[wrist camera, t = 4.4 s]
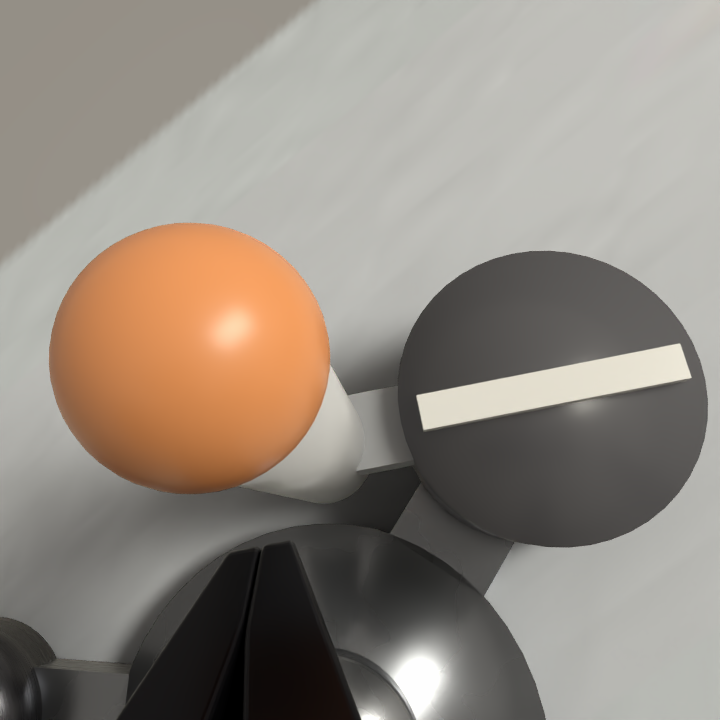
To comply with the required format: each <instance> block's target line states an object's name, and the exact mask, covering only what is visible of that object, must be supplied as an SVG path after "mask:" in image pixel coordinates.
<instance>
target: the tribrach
mask: <svg viewBox="0 0 720 720" xmlns="http://www.w3.org/2000/svg"><path fill="white" fill-rule="evenodd" d="M288 540H291V541H293V542H294V543H295V545H296V547H297V550H298V553H299V555H300V558H301V561H302V563H303V566H304V569H305V571H306V574H307V576H308V579H309V582H310V584H311V587H312V590H313V592H314V595H315V598H316V600H317V603H318V606H319V608H320V611H321V613H322V616H323V619H324V621H325V624H326V627H327V629H328V632H329V635H330V637H331V640H332V643H333V645H334V648H335V650H336V653H337V656H338V658H339V661H340V664H341V666H342V669H343V672H344V674H345V677H346V680H347V682H348V685H349V687H350V690H351V693H352V695H353V698H354V701H355V703H356V706H357V709H358V711H359V714H360V716H361V719H362V720H546V719H545V714H544V710H543V707H542V704H541V700H540V697H539V694H538V690H537V687H536V684H535V681H534V679H533V676H532V674H531V672H530V669H529V667H528V665H527V662H526V660H525V658H524V655H523V653H522V652H521V650H520V648H519V646H518V645H517V643H516V641H515V639H514V638H513V636H512V634H511V632H510V631H509V629H508V627H507V626H506V624H505V623H504V622H503V620H502V619H501V618H500V616H499V615H498V614H497V612H496V611H495V610H494V608H493V607H492V606H491V604H490V603H489V602H488V601H487V600H486V598H485V597H484V595H485V593H486V591H487V590H488V588H489V586H490V584H491V583H492V581H493V579H494V577H495V575H496V574H497V572H498V570H499V568H500V567H501V565H502V563H503V561H504V560H505V558H506V556H507V554H508V553H509V551H510V549H511V547H512V545H513V544H514V541H508V540H504V539H500V538H497V537H493V536H490V535H487V534H485V533H482V532H480V531H478V530H476V529H473V528H471V527H470V526H468V525H466V524H465V523H463V522H461V521H460V520H458V519H457V518H455V517H454V516H453V515H452V514H450V513H449V512H448V511H446V510H445V509H444V508H443V507H442V506H441V505H440V504H439V503H438V502H437V501H436V500H435V499H434V498H433V497H432V495H431V494H430V493H429V492H428V490H427V489H426V488H425V486H424V485H423V484H422V482H421V483H420V485H419V486H418V488H417V490H416V491H415V493H414V494H413V496H412V498H411V499H410V501H409V503H408V504H407V506H406V508H405V509H404V511H403V513H402V514H401V516H400V518H399V519H398V521H397V523H396V524H395V526H394V527H393V529H392V531H391V532H390V533H388V532H384V531H381V530H377V529H374V528H368V527H362V526H355V525H348V524H314V525H306V526H298V527H291V528H287V529H283V530H279V531H275V532H272V533H268V534H265V535H262V536H260V537H258V538H255V539H253V540H250V541H248V542H245V543H243V544H241V545H239V546H237V547H236V548H234V549H232V550H230V551H229V552H227V553H225V554H223V555H222V556H220V557H218V558H217V559H216V560H214V561H213V562H212V563H210V564H209V565H208V566H207V567H205V568H204V569H203V570H201V571H200V572H199V573H197V574H196V575H195V576H194V577H193V578H192V579H191V580H190V581H189V582H188V583H187V584H186V585H185V586H184V587H183V588H182V589H181V590H180V591H179V592H178V593H177V594H176V595H175V596H174V598H173V599H172V600H171V601H170V603H169V604H168V605H167V606H166V608H165V609H164V610H163V611H162V613H161V614H160V615H159V617H158V618H157V620H156V621H155V623H154V625H153V626H152V628H151V629H150V631H149V633H148V634H147V636H146V637H145V639H144V641H143V643H142V645H141V647H140V649H139V651H138V654H137V656H136V658H135V660H134V662H133V664H124V663H110V662H97V661H83V660H70V659H57V658H56V656H55V654H54V652H53V650H52V649H51V647H50V646H49V645H48V643H47V642H46V641H45V640H44V639H43V637H42V636H41V635H40V634H39V633H37V632H36V631H35V630H33V629H32V628H31V627H29V626H27V625H25V624H24V623H22V622H19V621H16V620H13V619H9V618H4V617H0V720H116V718H117V717H118V715H119V714H120V712H121V711H122V709H123V708H124V706H125V705H126V704H127V702H128V701H129V699H130V698H131V696H132V695H133V693H134V692H135V690H136V689H137V687H138V686H139V684H140V683H141V681H142V680H143V678H144V677H145V675H146V674H147V672H148V671H149V669H150V668H151V666H152V665H153V663H154V662H155V660H156V659H157V657H158V656H159V654H160V653H161V652H162V650H163V649H164V647H165V646H166V644H167V643H168V641H169V640H170V638H171V637H172V635H173V634H174V632H175V631H176V629H177V628H178V626H179V625H180V623H181V622H182V620H183V619H184V617H185V616H186V614H187V613H188V611H189V610H190V608H191V607H192V605H193V604H194V602H195V601H196V599H197V598H198V597H199V595H200V594H201V592H202V591H203V589H204V588H205V586H206V585H207V583H208V582H209V580H210V579H211V577H212V576H213V574H214V573H215V571H216V570H217V568H218V567H219V565H220V564H221V562H222V561H223V559H224V558H225V557H226V555H227V554H229V553H230V552H231V551H234V550H240V549H245V548H250V547H260V548H263V547H264V546H265V545H267V544H271V543H277V542H282V541H288Z"/></svg>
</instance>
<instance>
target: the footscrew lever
mask: <svg viewBox="0 0 720 720" xmlns="http://www.w3.org/2000/svg"><path fill="white" fill-rule="evenodd" d="M49 370H50V378H51V383H52V387H53V391H54V395H55V399H56V402H57V405H58V407H59V410H60V412H61V414H62V417H63V419H64V420H65V422H66V424H67V425H68V427H69V429H70V430H71V432H72V433H73V435H74V436H75V438H76V439H77V440H78V441H79V442H80V444H81V445H82V446H83V447H84V449H85V450H86V451H87V452H88V453H89V454H90V455H91V456H93V457H94V458H95V459H96V460H97V461H98V462H99V463H101V464H102V465H103V466H105V467H106V468H108V469H109V470H111V471H112V472H114V473H115V474H117V475H118V476H120V477H122V478H124V479H126V480H128V481H130V482H133V483H135V484H138V485H141V486H144V487H147V488H151V489H154V490H157V491H162V492H168V493H175V494H203V493H211V492H218V491H222V490H226V489H230V488H234V487H242V488H247V489H251V490H256V491H261V492H266V493H270V494H275V495H280V496H285V497H290V498H294V499H299V500H304V501H309V502H313V503H320V504H328V503H334V502H338V501H341V500H343V499H346V498H347V497H349V496H351V495H352V494H353V493H355V492H356V491H357V490H358V489H359V488H360V487H361V486H362V484H363V483H364V482H365V480H366V478H367V477H368V474H371V473H377V472H382V471H387V470H392V469H397V468H403V467H408V466H413V468H414V470H415V472H416V473H417V475H418V477H419V478H420V480H421V482H422V484H423V485H424V486H425V488H426V489H427V490H428V492H429V493H430V494H431V495H432V497H433V498H434V499H435V500H436V501H437V502H438V503H439V504H440V505H441V506H442V507H443V508H444V509H445V510H446V511H448V512H449V513H450V514H452V515H453V516H454V517H455V518H457V519H458V520H460V521H461V522H463V523H465V524H466V525H468V526H470V527H471V528H473V529H476V530H478V531H480V532H482V533H485V534H487V535H490V536H493V537H497V538H500V539H504V540H508V541H514V542H520V543H525V544H532V545H538V546H545V547H577V546H586V545H592V544H596V543H600V542H604V541H608V540H612V539H614V538H616V537H619V536H621V535H624V534H626V533H629V532H631V531H633V530H634V529H636V528H638V527H639V526H641V525H643V524H644V523H646V522H648V521H649V520H650V519H652V518H653V517H654V516H655V515H657V514H658V513H659V512H660V511H662V510H663V509H664V508H665V507H666V506H667V505H668V504H669V503H670V502H671V501H672V500H673V498H674V497H675V496H676V495H677V494H678V493H679V492H680V490H681V489H682V487H683V486H684V484H685V483H686V481H687V480H688V478H689V477H690V475H691V473H692V471H693V469H694V467H695V464H696V462H697V460H698V458H699V455H700V452H701V448H702V445H703V442H704V439H705V432H706V426H707V417H708V398H707V390H706V383H705V377H704V374H703V370H702V366H701V363H700V359H699V357H698V355H697V352H696V350H695V348H694V345H693V343H692V341H691V339H690V337H689V336H688V334H687V332H686V330H685V329H684V327H683V325H682V324H681V323H680V321H679V320H678V319H677V317H676V316H675V315H674V313H673V312H672V311H671V309H670V308H669V307H668V306H667V305H666V304H665V303H664V302H663V301H662V300H661V299H660V298H659V297H658V296H657V295H656V294H655V293H654V292H652V291H651V290H650V289H649V288H647V287H646V286H645V285H644V284H642V283H641V282H640V281H638V280H637V279H635V278H633V277H632V276H630V275H629V274H627V273H625V272H624V271H622V270H620V269H617V268H615V267H613V266H611V265H609V264H607V263H604V262H601V261H598V260H596V259H593V258H590V257H586V256H581V255H577V254H572V253H566V252H556V251H529V252H522V253H515V254H510V255H506V256H503V257H499V258H495V259H492V260H490V261H487V262H485V263H482V264H480V265H477V266H475V267H474V268H472V269H470V270H468V271H467V272H465V273H463V274H461V275H460V276H458V277H457V278H456V279H454V280H453V281H452V282H450V283H449V284H448V285H446V286H445V287H444V288H443V289H442V290H441V291H440V292H439V293H438V294H437V295H436V296H435V297H434V298H433V299H432V300H431V301H430V303H429V304H428V305H427V306H426V308H425V309H424V310H423V311H422V313H421V314H420V316H419V318H418V319H417V321H416V323H415V325H414V326H413V328H412V330H411V332H410V335H409V337H408V339H407V342H406V344H405V347H404V351H403V355H402V358H401V362H400V369H399V376H398V385H397V386H392V387H387V388H382V389H377V390H371V391H366V392H361V393H356V394H351V395H347V394H346V392H345V390H344V388H343V386H342V385H341V383H340V381H339V379H338V377H337V375H336V374H335V372H334V370H333V368H332V366H331V365H330V347H329V338H328V334H327V330H326V326H325V322H324V318H323V315H322V312H321V310H320V307H319V305H318V302H317V300H316V298H315V297H314V295H313V293H312V291H311V290H310V288H309V286H308V285H307V283H306V282H305V281H304V279H303V278H302V277H301V276H300V274H299V273H298V272H297V270H296V269H295V268H294V267H293V266H292V265H291V264H290V263H289V262H288V261H287V260H286V259H284V258H283V257H282V256H281V255H280V254H278V253H277V252H276V251H274V250H273V249H271V248H270V247H269V246H267V245H266V244H264V243H262V242H261V241H259V240H257V239H255V238H253V237H251V236H249V235H246V234H243V233H241V232H238V231H235V230H233V229H230V228H226V227H222V226H217V225H212V224H201V223H174V224H168V225H161V226H157V227H153V228H150V229H146V230H143V231H141V232H138V233H136V234H133V235H131V236H128V237H126V238H124V239H122V240H120V241H119V242H117V243H115V244H113V245H112V246H110V247H109V248H107V249H106V250H104V251H103V252H102V253H100V254H99V255H98V256H97V257H96V258H95V259H93V260H92V261H91V262H90V263H89V264H88V265H87V266H86V267H85V268H84V269H83V271H82V272H81V273H80V274H79V275H78V276H77V278H76V279H75V281H74V282H73V283H72V285H71V286H70V288H69V289H68V291H67V293H66V295H65V297H64V298H63V300H62V302H61V305H60V307H59V310H58V312H57V315H56V318H55V322H54V325H53V329H52V334H51V341H50V347H49Z"/></svg>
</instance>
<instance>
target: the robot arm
mask: <svg viewBox="0 0 720 720" xmlns="http://www.w3.org/2000/svg"><path fill="white" fill-rule="evenodd" d="M116 720H362V719H361V716H360V714H359V711H358V709H357V706H356V703H355V701H354V698H353V695H352V693H351V690H350V687H349V685H348V682H347V680H346V677H345V674H344V672H343V669H342V666H341V664H340V661H339V658H338V656H337V653H336V650H335V648H334V645H333V643H332V640H331V637H330V635H329V632H328V629H327V627H326V624H325V621H324V619H323V616H322V613H321V611H320V608H319V606H318V603H317V600H316V598H315V595H314V592H313V590H312V587H311V584H310V582H309V579H308V576H307V574H306V571H305V569H304V566H303V563H302V561H301V558H300V555H299V553H298V550H297V547H296V545H295V543H294V542H293V541H291V540H288V541H282V542H277V543H271V544H267V545H265V546H264V547H263V548H260V547H250V548H245V549H240V550H234V551H231V552H230V553H229V554H227V555H226V557H225V558H224V559H223V561H222V562H221V564H220V565H219V567H218V568H217V570H216V571H215V573H214V574H213V576H212V577H211V579H210V580H209V582H208V583H207V585H206V586H205V588H204V589H203V591H202V592H201V594H200V595H199V597H198V598H197V599H196V601H195V602H194V604H193V605H192V607H191V608H190V610H189V611H188V613H187V614H186V616H185V617H184V619H183V620H182V622H181V623H180V625H179V626H178V628H177V629H176V631H175V632H174V634H173V635H172V637H171V638H170V640H169V641H168V643H167V644H166V646H165V647H164V649H163V650H162V652H161V653H160V654H159V656H158V657H157V659H156V660H155V662H154V663H153V665H152V666H151V668H150V669H149V671H148V672H147V674H146V675H145V677H144V678H143V680H142V681H141V683H140V684H139V686H138V687H137V689H136V690H135V692H134V693H133V695H132V696H131V698H130V699H129V701H128V702H127V704H126V705H125V706H124V708H123V709H122V711H121V712H120V714H119V715H118V717H117V718H116Z"/></svg>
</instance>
